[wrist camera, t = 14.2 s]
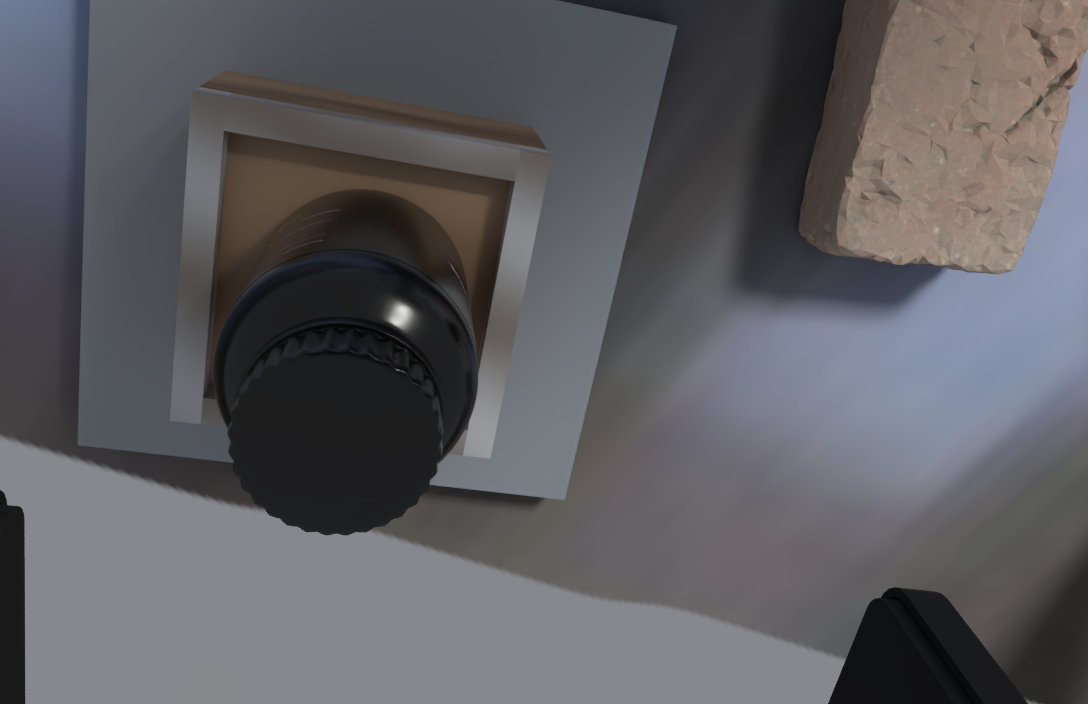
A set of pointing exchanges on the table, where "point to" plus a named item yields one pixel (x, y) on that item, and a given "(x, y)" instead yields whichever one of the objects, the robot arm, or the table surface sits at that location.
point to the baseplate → (390, 74)
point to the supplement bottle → (347, 363)
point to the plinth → (343, 164)
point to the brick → (942, 129)
